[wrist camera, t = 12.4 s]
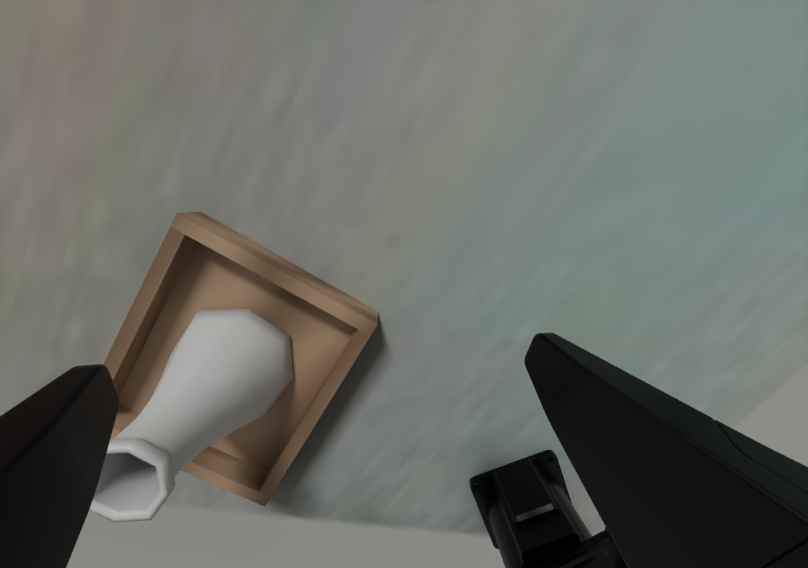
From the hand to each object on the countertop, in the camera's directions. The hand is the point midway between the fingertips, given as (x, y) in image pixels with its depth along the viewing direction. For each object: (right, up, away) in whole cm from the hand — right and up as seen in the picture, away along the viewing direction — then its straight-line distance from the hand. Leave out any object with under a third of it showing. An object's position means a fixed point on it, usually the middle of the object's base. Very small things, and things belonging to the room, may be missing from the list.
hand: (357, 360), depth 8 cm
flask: (-9, -3, +14) cm, 18 cm away
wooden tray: (-9, -3, +15) cm, 18 cm away
